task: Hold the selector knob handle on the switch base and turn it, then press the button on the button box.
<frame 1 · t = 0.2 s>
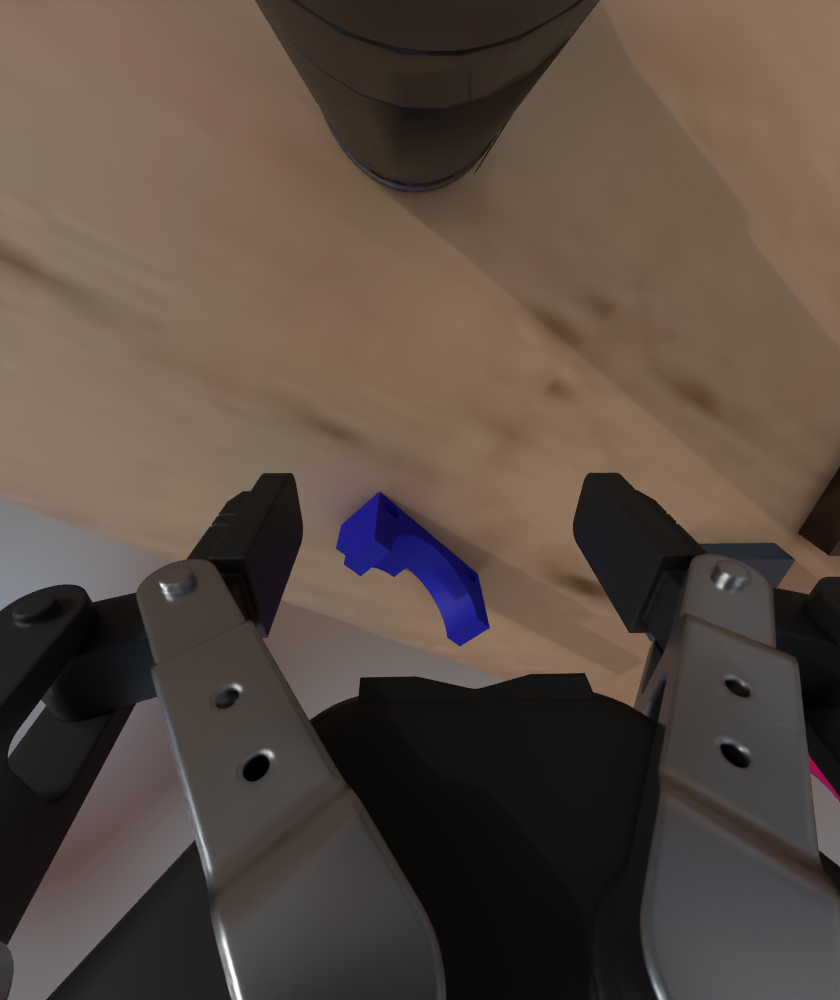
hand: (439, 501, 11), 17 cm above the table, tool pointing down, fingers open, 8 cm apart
blue notched block: (412, 549, 34), on the table
button box: (702, 585, 37), on the table
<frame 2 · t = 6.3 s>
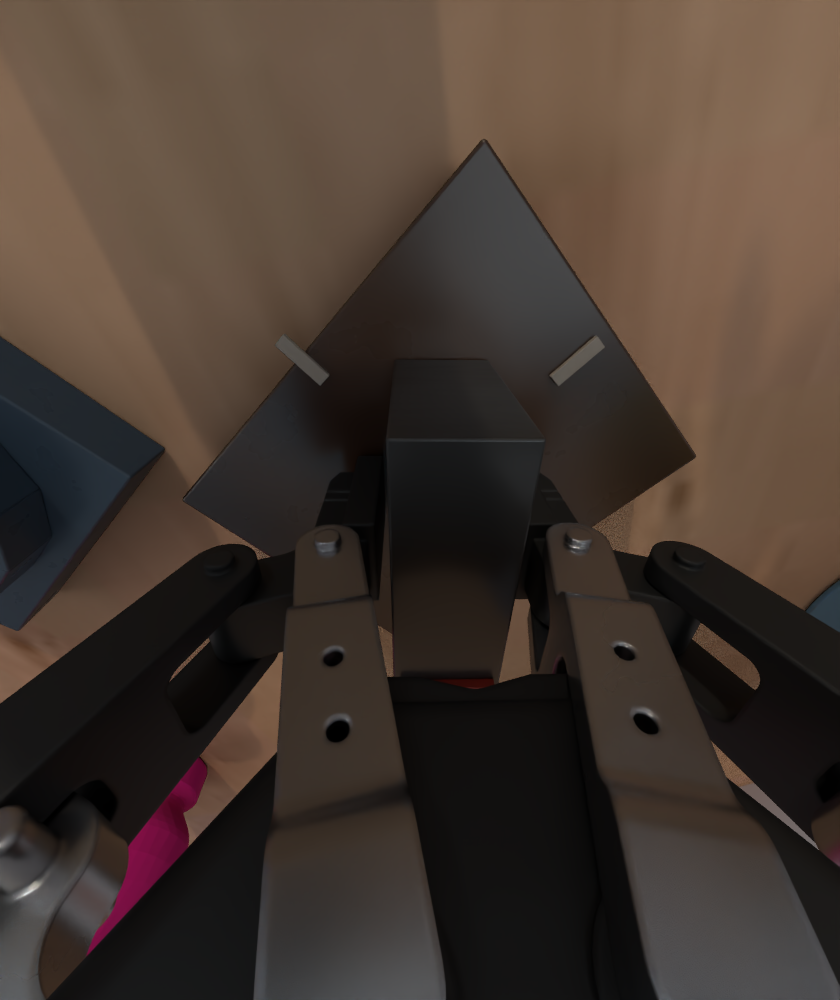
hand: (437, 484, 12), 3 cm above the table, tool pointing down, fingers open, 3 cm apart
switch base: (431, 439, 15), on the table
selector knob handle: (443, 532, 10), point 6 cm above the table, hinge at 44.8°
pepper mill: (159, 761, 26), on the table
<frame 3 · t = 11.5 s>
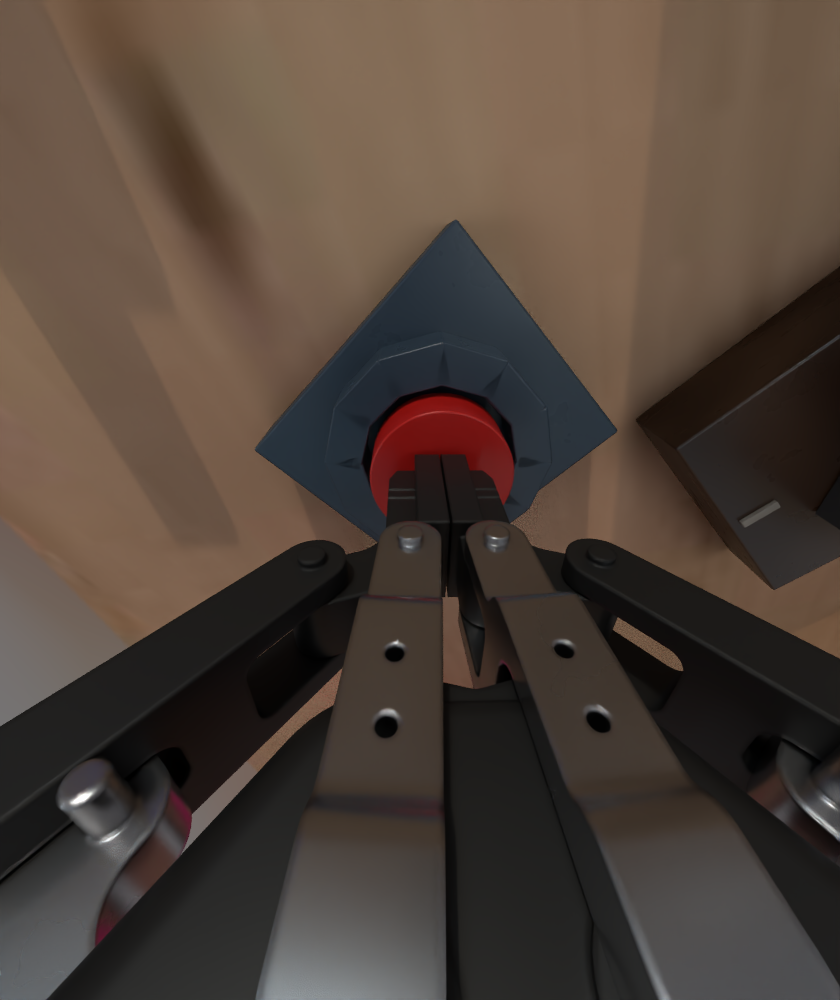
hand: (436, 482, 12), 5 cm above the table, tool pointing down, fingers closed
switch base: (823, 402, 17), on the table
button: (440, 467, 13), point 4 cm above the table, slide at -0.1 cm, touching gripper
button box: (432, 419, 17), on the table
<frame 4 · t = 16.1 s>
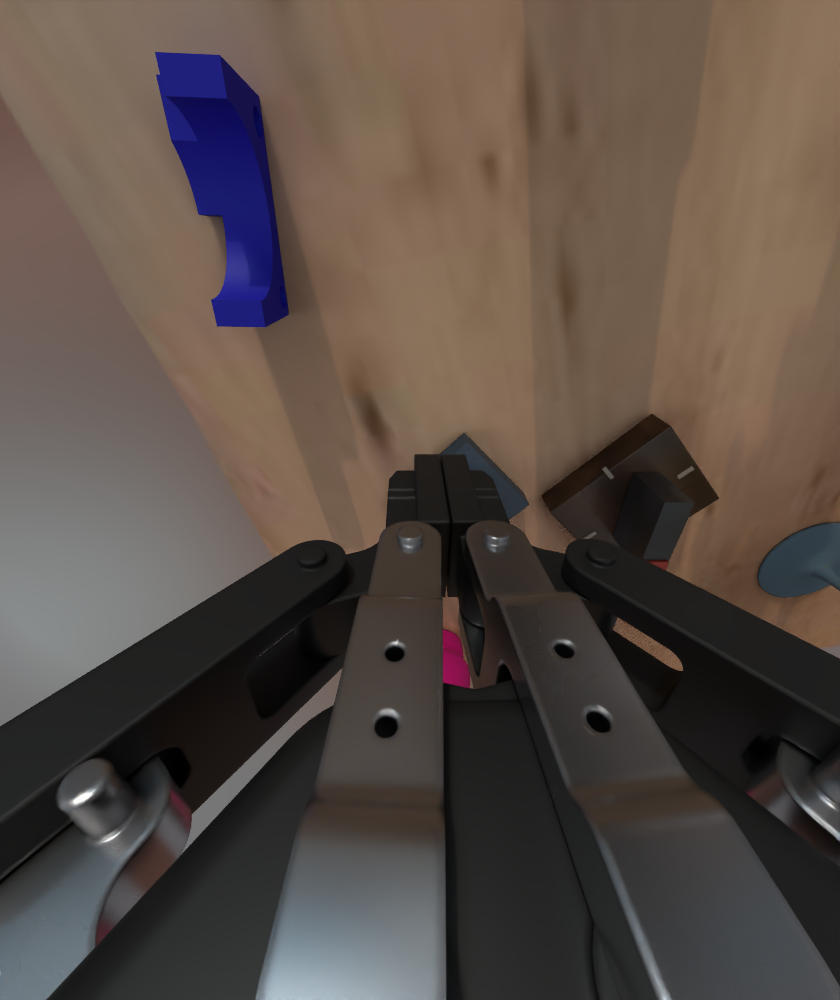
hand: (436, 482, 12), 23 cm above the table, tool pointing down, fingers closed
cocktail glass: (806, 559, 46), on the table
switch base: (620, 489, 40), on the table
blue notched block: (243, 217, 27), on the table
selector knob handle: (649, 522, 35), point 6 cm above the table, hinge at 44.8°
pepper mill: (437, 643, 51), on the table
button box: (455, 496, 39), on the table
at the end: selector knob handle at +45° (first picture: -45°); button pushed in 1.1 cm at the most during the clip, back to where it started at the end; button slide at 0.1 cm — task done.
